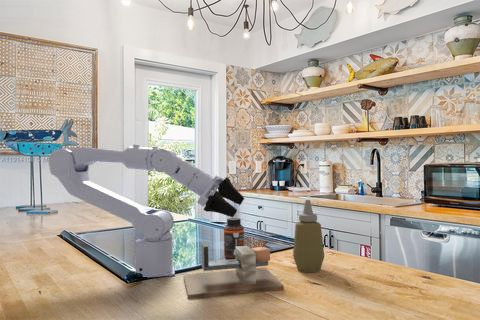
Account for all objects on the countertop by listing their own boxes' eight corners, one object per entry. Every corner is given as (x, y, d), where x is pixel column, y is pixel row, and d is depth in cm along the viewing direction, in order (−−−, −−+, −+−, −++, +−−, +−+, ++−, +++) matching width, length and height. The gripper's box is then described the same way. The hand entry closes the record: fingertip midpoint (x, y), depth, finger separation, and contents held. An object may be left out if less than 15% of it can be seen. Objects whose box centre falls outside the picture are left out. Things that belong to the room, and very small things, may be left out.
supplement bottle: (242, 259, 107) (241, 220, 107) (222, 258, 108) (221, 220, 108) (246, 254, 113) (245, 217, 113) (226, 253, 114) (226, 216, 114)
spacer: (254, 262, 86) (253, 252, 86) (249, 257, 90) (249, 247, 90) (272, 261, 87) (272, 251, 87) (267, 256, 91) (266, 246, 91)
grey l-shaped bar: (204, 271, 83) (203, 246, 83) (201, 265, 88) (201, 242, 88) (268, 266, 86) (268, 242, 86) (262, 260, 91) (262, 238, 91)
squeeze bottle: (327, 267, 98) (326, 198, 98) (320, 276, 91) (319, 202, 91) (298, 263, 102) (296, 198, 102) (289, 272, 94) (287, 201, 94)
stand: (188, 298, 78) (187, 262, 78) (183, 277, 91) (182, 247, 91) (283, 289, 82) (283, 255, 82) (265, 270, 96) (265, 241, 96)
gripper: (190, 176, 87) (239, 207, 86) (209, 158, 100) (252, 185, 100) (177, 199, 90) (225, 229, 89) (198, 178, 103) (240, 204, 102)
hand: (238, 207), depth 95 cm, fingers open, 7 cm apart
